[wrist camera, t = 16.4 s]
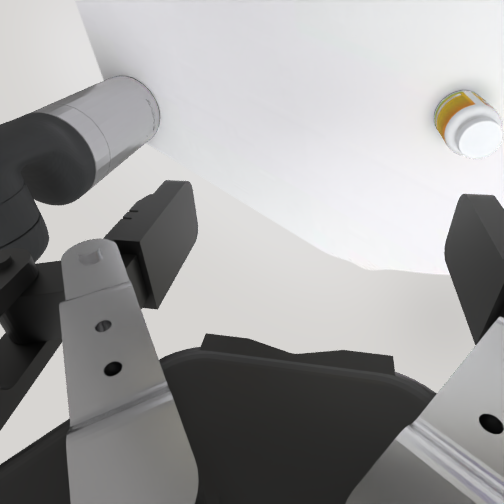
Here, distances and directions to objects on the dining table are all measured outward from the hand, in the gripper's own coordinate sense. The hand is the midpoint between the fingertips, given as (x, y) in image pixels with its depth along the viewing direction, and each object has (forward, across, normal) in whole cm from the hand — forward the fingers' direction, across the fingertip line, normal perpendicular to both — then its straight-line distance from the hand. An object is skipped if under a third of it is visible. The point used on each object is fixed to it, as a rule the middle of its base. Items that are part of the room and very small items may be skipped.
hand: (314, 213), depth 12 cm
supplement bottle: (+40, -15, +8) cm, 44 cm away
